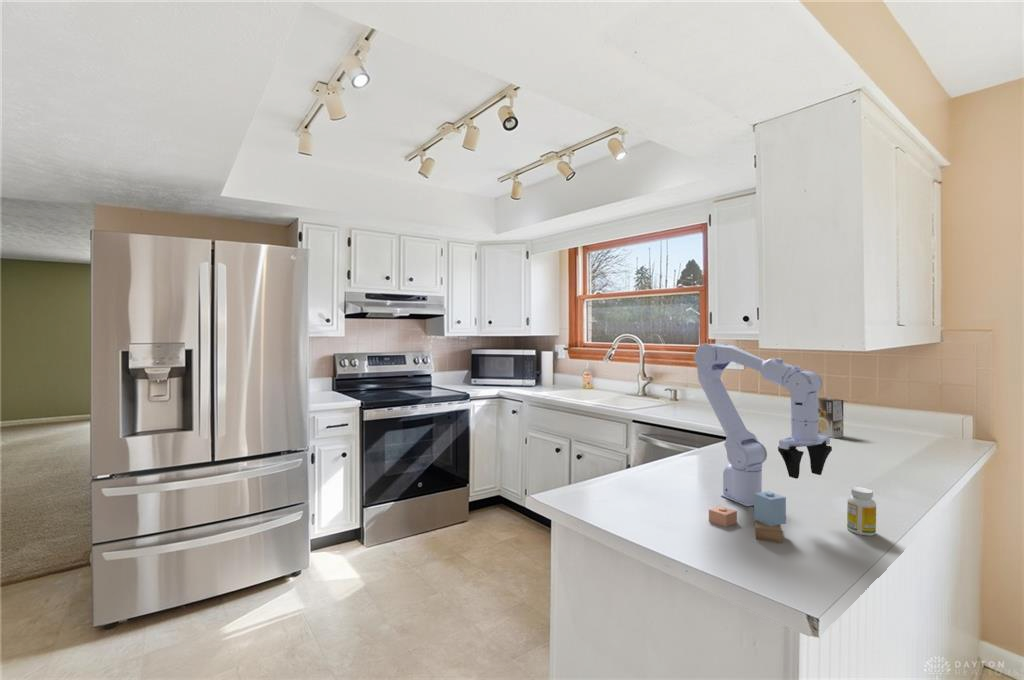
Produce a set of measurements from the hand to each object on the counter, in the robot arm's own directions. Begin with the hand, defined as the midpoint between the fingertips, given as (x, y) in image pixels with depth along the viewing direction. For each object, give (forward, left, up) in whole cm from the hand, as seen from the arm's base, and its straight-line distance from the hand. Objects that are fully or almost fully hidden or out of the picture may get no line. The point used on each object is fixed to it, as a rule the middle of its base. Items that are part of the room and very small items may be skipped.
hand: (805, 475), depth 120 cm
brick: (-6, -20, -11) cm, 24 cm away
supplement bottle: (+10, +5, -11) cm, 16 cm away
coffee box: (-64, +95, -11) cm, 114 cm away
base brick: (+3, -16, -11) cm, 19 cm away
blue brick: (+3, -15, -8) cm, 18 cm away
